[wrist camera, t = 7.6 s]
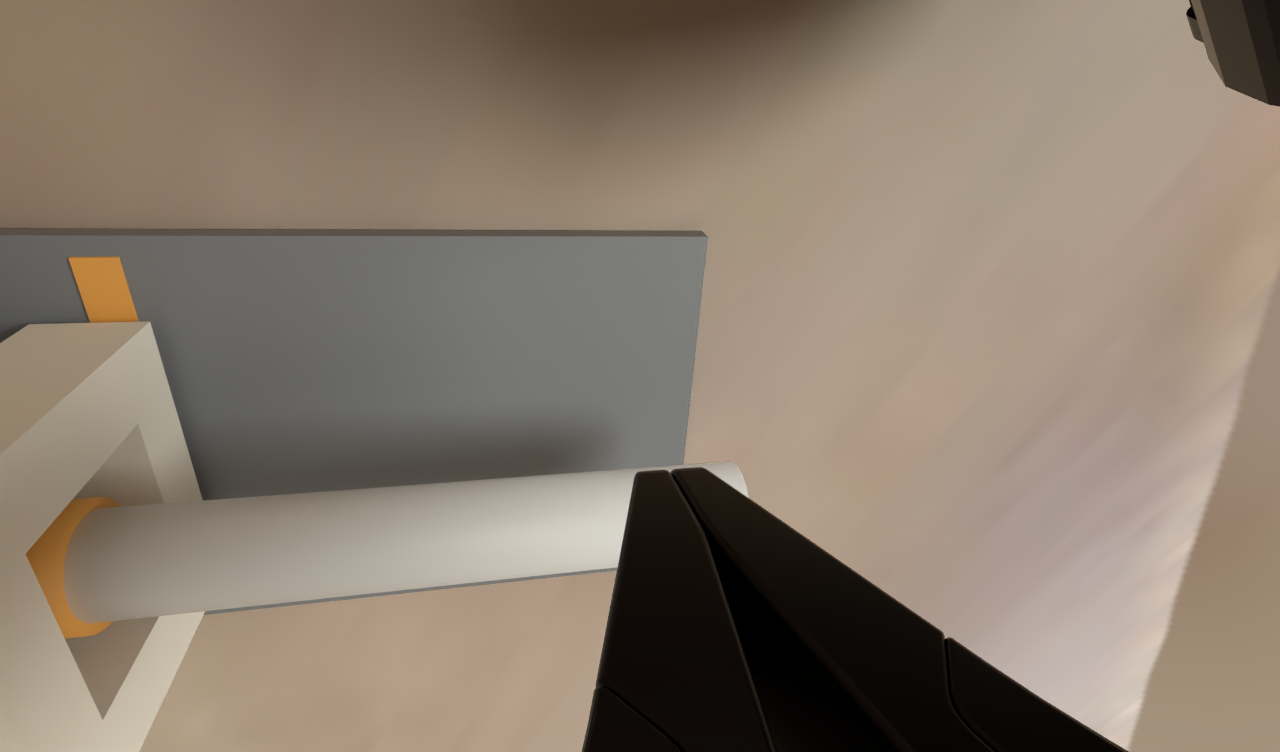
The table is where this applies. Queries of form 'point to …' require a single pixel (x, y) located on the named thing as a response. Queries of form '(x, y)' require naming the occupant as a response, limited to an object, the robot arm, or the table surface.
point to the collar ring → (41, 489)
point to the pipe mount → (371, 406)
